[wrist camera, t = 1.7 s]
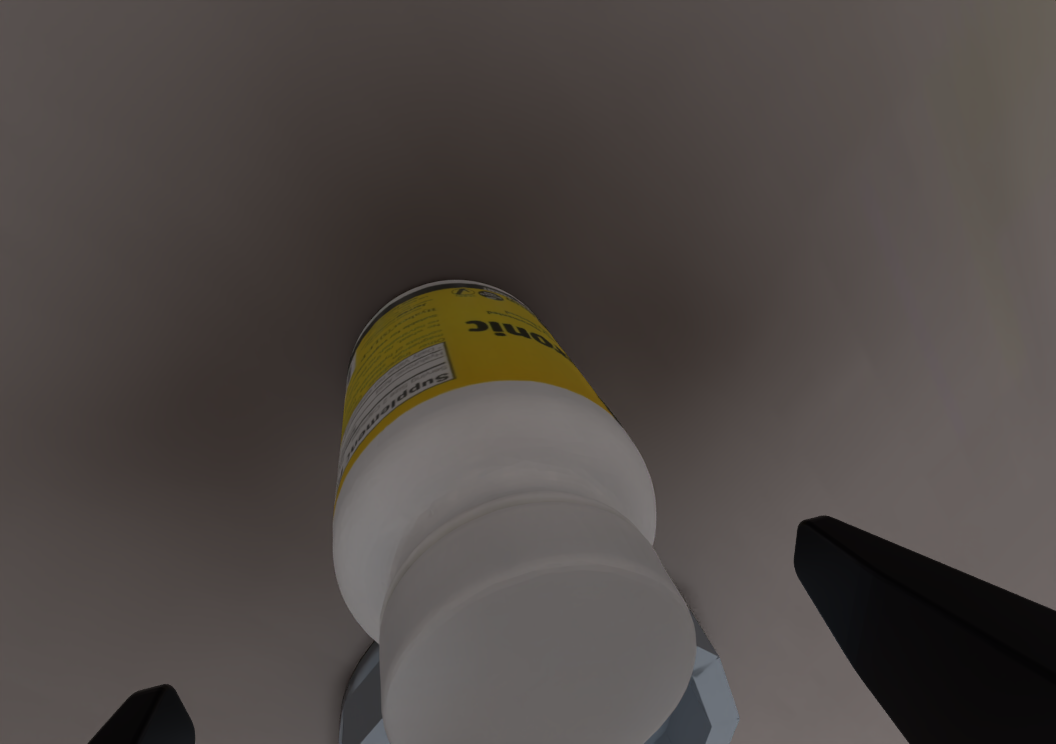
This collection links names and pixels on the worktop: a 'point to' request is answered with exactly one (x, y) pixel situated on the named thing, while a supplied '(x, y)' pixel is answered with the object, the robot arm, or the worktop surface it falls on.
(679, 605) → the supplement bottle
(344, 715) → the round dish
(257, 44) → the worktop surface
